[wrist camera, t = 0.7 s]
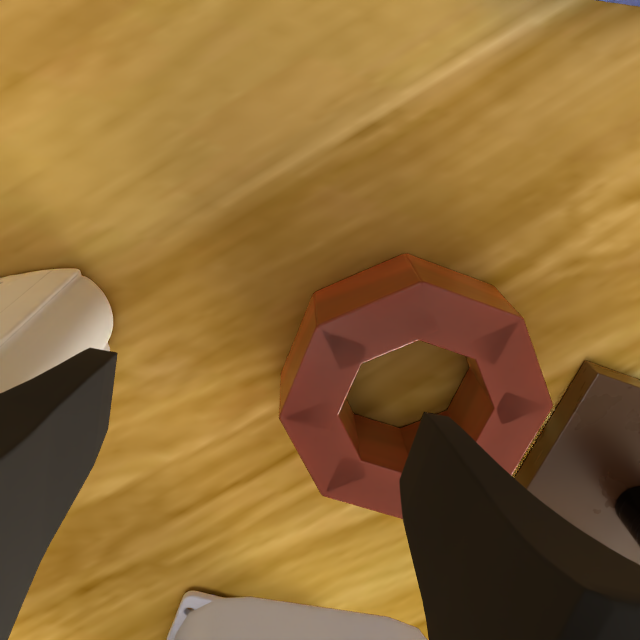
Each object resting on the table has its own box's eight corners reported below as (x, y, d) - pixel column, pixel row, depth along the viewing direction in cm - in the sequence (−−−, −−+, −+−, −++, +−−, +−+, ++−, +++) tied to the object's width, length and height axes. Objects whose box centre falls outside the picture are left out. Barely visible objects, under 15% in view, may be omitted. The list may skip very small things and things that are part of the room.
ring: (453, 486, 27) (473, 539, 24) (258, 427, 26) (254, 476, 23) (553, 307, 24) (591, 342, 21) (339, 227, 23) (346, 253, 20)
